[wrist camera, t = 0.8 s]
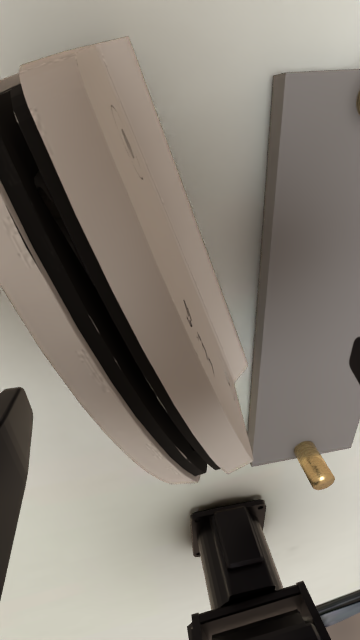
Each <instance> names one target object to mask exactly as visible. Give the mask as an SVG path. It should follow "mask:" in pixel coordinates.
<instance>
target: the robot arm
mask: <svg viewBox="0 0 360 640" xmlns="http://www.w3.org/2000/svg"><path fill="white" fill-rule="evenodd" d="M349 366H350V369H351V371H352V372H353V374H354V376H355V378H356V379H357V381H358V383H359V385H360V337H357V338H356V339H355V340H354V342H353V346H352V350H351V354H350V358H349ZM32 426H33V412H32V409H31V406H30V403H29V401H28V398H27V395H26V393H25V390H24V389H23V388H21V387H16V388H9V389H5V390H3V391H2V392H1V393H0V600H1V595H2V591H3V586H4V582H5V577H6V573H7V568H8V563H9V559H10V554H11V550H12V545H13V541H14V536H15V531H16V527H17V522H18V518H19V513H20V509H21V504H22V499H23V495H24V490H25V486H26V480H27V475H28V467H29V457H30V446H31V436H32ZM265 511H266V505H265V502H264V500H256V501H251V502H246V503H241V504H236V505H231V506H226V507H221V508H216V509H211V510H206V511H201V512H197V513H194V514H192V515H191V533H192V548H193V555H194V556H195V557H200V556H201V561H202V565H203V570H204V575H205V580H206V585H207V590H208V595H209V600H210V605H211V611H207V612H204V613H201V614H199V613H195V614H192V623H191V624H190V625H188V626H187V630H188V637H189V640H331V639H330V636H329V634H328V632H327V630H326V628H325V626H324V624H323V622H322V620H321V617H320V615H319V613H318V611H317V609H316V607H315V605H314V603H313V601H312V598H311V596H310V594H309V592H308V590H307V588H306V586H305V584H304V582H303V581H301V582H298V583H296V585H293V586H290V587H286V588H283V586H282V583H281V580H280V577H279V575H278V572H277V569H276V567H275V564H274V561H273V558H272V556H271V553H270V550H269V547H268V545H267V542H266V539H265V536H264V534H263V526H264V519H265Z"/></svg>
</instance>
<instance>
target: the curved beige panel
mask: <svg viewBox="0 0 360 640" xmlns="http://www.w3.org/2000/svg"><path fill="white" fill-rule="evenodd" d="M0 285H1V287H2V288H3V290H4V291H5V293H6V295H7V296H8V298H9V300H10V301H11V303H12V305H13V306H14V308H15V310H16V311H17V313H18V314H19V316H20V317H21V319H22V321H23V322H24V324H25V325H26V327H27V329H28V330H29V332H30V333H31V335H32V337H33V338H34V340H35V341H36V343H37V344H38V346H39V348H40V349H41V351H42V352H43V353H44V355H45V356H46V358H47V359H48V360H49V362H50V363H51V365H52V366H53V367H54V369H55V370H56V371H57V373H58V374H59V376H60V377H61V378H62V380H63V381H64V382H65V384H66V385H67V387H68V388H69V389H70V391H71V392H72V393H73V395H74V396H75V397H76V399H77V400H78V401H79V403H80V404H81V405H82V407H83V408H84V409H85V410H86V411H87V412H88V414H89V415H90V416H91V417H92V418H93V420H94V421H95V422H96V423H97V424H98V425H99V427H100V428H101V429H102V430H103V431H104V432H105V434H106V435H107V436H108V437H109V438H110V439H111V440H112V441H113V442H114V443H115V444H116V445H117V446H118V447H119V448H120V449H121V450H122V451H123V452H124V453H125V454H126V455H128V456H129V457H130V458H131V459H132V460H133V461H134V462H135V463H136V464H138V465H139V466H140V467H141V468H143V469H144V470H145V471H147V472H148V473H150V474H151V475H153V476H155V477H156V478H158V479H159V480H162V481H164V482H166V483H169V484H185V483H198V481H199V480H200V474H203V473H206V471H207V464H208V465H210V466H211V467H212V468H213V469H215V470H218V469H222V470H223V471H224V472H225V473H226V474H229V473H231V472H233V471H235V470H237V469H239V468H241V467H243V466H245V465H247V464H249V463H251V462H253V455H252V450H251V447H250V443H249V439H248V435H247V431H246V427H245V423H244V420H243V416H242V412H241V408H240V404H239V400H238V397H237V393H236V389H235V382H236V380H237V379H238V378H239V377H240V375H241V374H242V373H243V372H244V371H245V369H246V368H247V366H248V363H247V360H246V357H245V354H244V351H243V349H242V346H241V343H240V340H239V338H238V335H237V332H236V329H235V327H234V324H233V321H232V318H231V316H230V313H229V310H228V308H227V305H226V302H225V299H224V297H223V294H222V291H221V288H220V286H219V283H218V280H217V277H216V275H215V272H214V269H213V266H212V264H211V261H210V258H209V255H208V253H207V250H206V247H205V244H204V242H203V239H202V236H201V234H200V231H199V228H198V225H197V223H196V220H195V217H194V214H193V212H192V209H191V206H190V203H189V201H188V198H187V195H186V192H185V190H184V187H183V184H182V181H181V179H180V176H179V173H178V170H177V168H176V165H175V162H174V159H173V157H172V154H171V151H170V149H169V146H168V143H167V140H166V138H165V135H164V132H163V129H162V127H161V124H160V121H159V118H158V116H157V113H156V110H155V107H154V105H153V102H152V99H151V96H150V94H149V91H148V88H147V85H146V83H145V80H144V77H143V75H142V72H141V69H140V66H139V64H138V61H137V58H136V55H135V53H134V50H133V47H132V44H131V42H130V39H129V37H128V36H127V37H122V38H118V39H114V40H110V41H106V42H101V43H97V44H93V45H88V46H84V47H80V48H75V49H71V50H67V51H63V52H60V53H57V54H54V55H51V56H48V57H45V58H42V59H38V60H35V61H32V62H29V63H26V64H23V65H20V69H19V73H18V74H15V75H13V76H10V77H7V78H5V79H2V80H0Z"/></svg>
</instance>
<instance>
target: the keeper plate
mask: <svg viewBox="0 0 360 640" xmlns="http://www.w3.org/2000/svg"><path fill="white" fill-rule="evenodd" d="M357 337H360V69H350V70H329V71H309V72H289V73H282V74H278V75H274V76H273V90H272V104H271V118H270V132H269V146H268V160H267V173H266V187H265V201H264V215H263V229H262V243H261V257H260V270H259V284H258V298H257V312H256V326H255V340H254V353H253V367H252V381H251V395H250V409H249V423H248V439H249V443H250V447H251V450H252V455H253V462H251V463H250V464H251V466H252V467H253V466H258V465H263V464H269V463H274V462H279V461H285V460H290V459H295V458H297V459H298V461H299V463H300V465H301V467H302V469H303V470H304V472H305V474H306V476H307V478H308V480H309V481H310V483H311V485H312V487H313V488H314V489H316V490H321V489H325V488H327V487H329V486H330V485H332V484H333V482H334V480H335V478H334V476H333V474H332V473H331V471H330V469H329V468H328V466H327V464H326V463H325V461H324V460H323V458H322V456H321V455H320V454H322V453H327V452H332V451H337V450H343V449H348V448H351V446H352V443H353V439H354V436H355V433H356V430H357V426H358V423H359V420H360V385H359V383H358V381H357V379H356V378H355V376H354V374H353V372H352V371H351V369H350V366H349V358H350V354H351V350H352V346H353V342H354V340H355V339H356V338H357Z"/></svg>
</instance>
